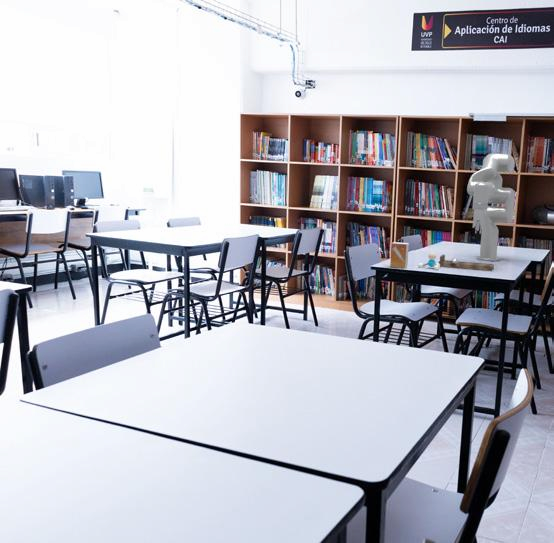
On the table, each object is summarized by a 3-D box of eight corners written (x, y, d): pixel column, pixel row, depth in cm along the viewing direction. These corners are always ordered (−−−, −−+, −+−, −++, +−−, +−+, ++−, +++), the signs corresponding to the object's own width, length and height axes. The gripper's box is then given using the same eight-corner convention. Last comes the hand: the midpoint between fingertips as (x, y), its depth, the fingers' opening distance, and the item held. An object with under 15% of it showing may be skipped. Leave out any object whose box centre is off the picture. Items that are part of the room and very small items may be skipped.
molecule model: (434, 267, 357) (435, 250, 356) (449, 270, 347) (450, 253, 346) (416, 267, 352) (417, 251, 350) (431, 271, 341) (432, 254, 340)
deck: (493, 268, 355) (494, 258, 354) (492, 271, 346) (492, 260, 345) (440, 264, 365) (441, 254, 364) (437, 266, 356) (438, 256, 355)
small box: (389, 267, 348) (391, 242, 346) (392, 266, 353) (393, 241, 351) (405, 268, 345) (406, 244, 343) (407, 267, 351) (409, 242, 348)
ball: (450, 268, 360) (450, 260, 361) (459, 267, 358) (458, 259, 360) (449, 265, 356) (449, 257, 357) (458, 264, 354) (457, 257, 356)
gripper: (474, 205, 357) (471, 238, 360) (471, 207, 343) (468, 242, 347) (488, 205, 354) (486, 239, 358) (486, 208, 341) (483, 243, 344)
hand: (477, 240), depth 352 cm, fingers closed
